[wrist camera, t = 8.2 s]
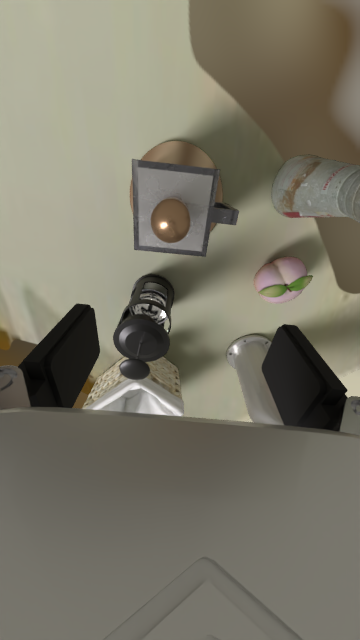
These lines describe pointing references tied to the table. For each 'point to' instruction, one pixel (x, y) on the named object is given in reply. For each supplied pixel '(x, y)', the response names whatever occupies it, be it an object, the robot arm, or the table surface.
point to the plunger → (170, 220)
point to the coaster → (181, 161)
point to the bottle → (317, 188)
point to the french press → (144, 327)
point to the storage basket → (139, 391)
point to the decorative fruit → (281, 280)
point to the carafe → (187, 186)
